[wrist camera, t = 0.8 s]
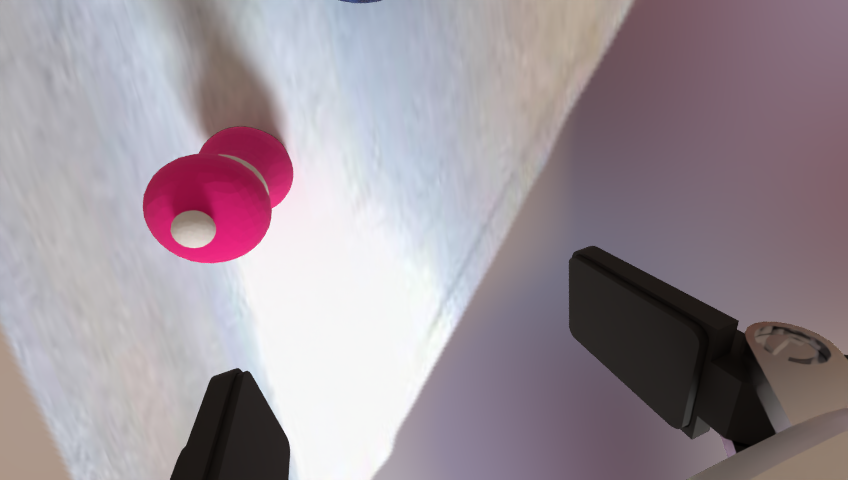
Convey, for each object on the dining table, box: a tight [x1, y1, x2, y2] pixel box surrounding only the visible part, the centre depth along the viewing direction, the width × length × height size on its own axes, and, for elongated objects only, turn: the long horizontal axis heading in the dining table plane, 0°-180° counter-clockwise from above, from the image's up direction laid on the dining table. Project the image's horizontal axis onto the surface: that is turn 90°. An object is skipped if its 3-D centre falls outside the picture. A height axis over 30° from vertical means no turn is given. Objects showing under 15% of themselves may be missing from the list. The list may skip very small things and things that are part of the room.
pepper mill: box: [143, 127, 293, 263], centre depth 24 cm, size 7×7×20 cm
